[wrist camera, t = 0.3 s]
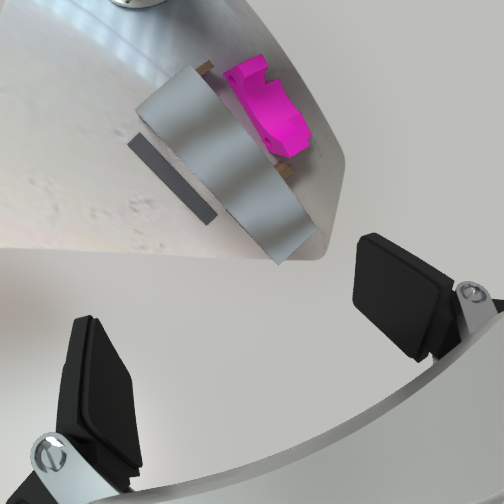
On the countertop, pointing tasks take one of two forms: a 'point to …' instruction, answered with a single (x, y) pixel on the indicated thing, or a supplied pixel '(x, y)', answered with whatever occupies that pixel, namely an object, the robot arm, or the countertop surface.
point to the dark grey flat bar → (171, 178)
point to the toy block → (269, 108)
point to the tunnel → (228, 161)
